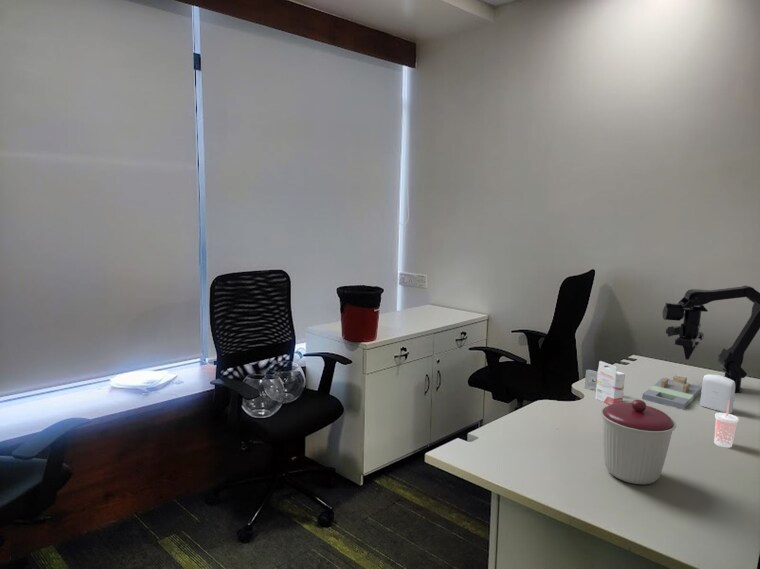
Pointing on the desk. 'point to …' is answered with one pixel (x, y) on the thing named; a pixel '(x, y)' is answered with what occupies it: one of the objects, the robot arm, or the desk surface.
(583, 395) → the desk surface
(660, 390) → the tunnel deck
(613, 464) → the canister
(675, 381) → the birch block
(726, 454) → the desk surface
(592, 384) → the cassette
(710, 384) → the photo printer
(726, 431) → the beverage cup
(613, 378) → the ink cartridge box
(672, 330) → the robot arm
